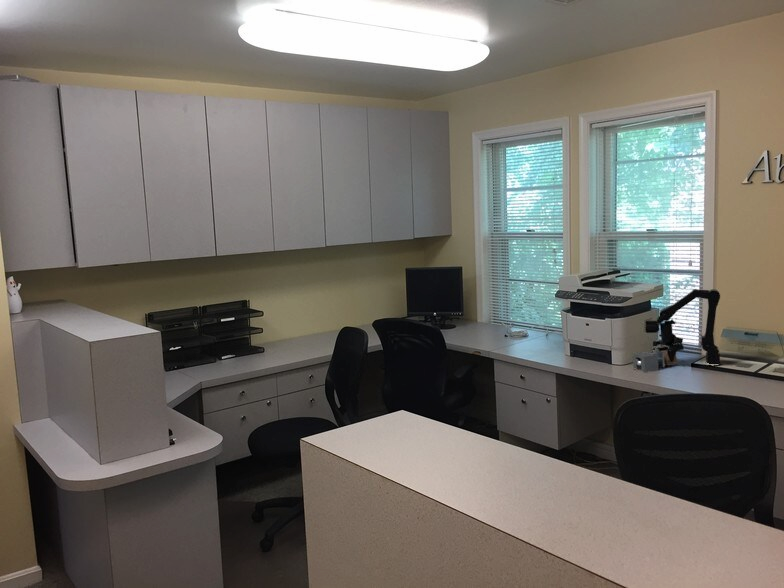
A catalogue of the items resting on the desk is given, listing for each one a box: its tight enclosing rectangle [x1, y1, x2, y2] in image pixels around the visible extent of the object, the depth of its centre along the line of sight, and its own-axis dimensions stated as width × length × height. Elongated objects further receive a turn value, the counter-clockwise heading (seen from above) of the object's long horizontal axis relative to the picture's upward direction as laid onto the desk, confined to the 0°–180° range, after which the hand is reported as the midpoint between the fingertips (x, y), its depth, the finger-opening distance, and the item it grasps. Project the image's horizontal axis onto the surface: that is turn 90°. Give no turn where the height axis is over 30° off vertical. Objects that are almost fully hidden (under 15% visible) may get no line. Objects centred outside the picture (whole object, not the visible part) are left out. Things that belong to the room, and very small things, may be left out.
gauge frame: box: [632, 351, 659, 373], centre depth 343 cm, size 14×18×8 cm
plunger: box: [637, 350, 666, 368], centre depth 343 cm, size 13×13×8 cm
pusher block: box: [660, 349, 678, 366], centre depth 343 cm, size 5×6×7 cm
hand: (668, 361), depth 344 cm, fingers closed on pusher block, 5 cm apart
